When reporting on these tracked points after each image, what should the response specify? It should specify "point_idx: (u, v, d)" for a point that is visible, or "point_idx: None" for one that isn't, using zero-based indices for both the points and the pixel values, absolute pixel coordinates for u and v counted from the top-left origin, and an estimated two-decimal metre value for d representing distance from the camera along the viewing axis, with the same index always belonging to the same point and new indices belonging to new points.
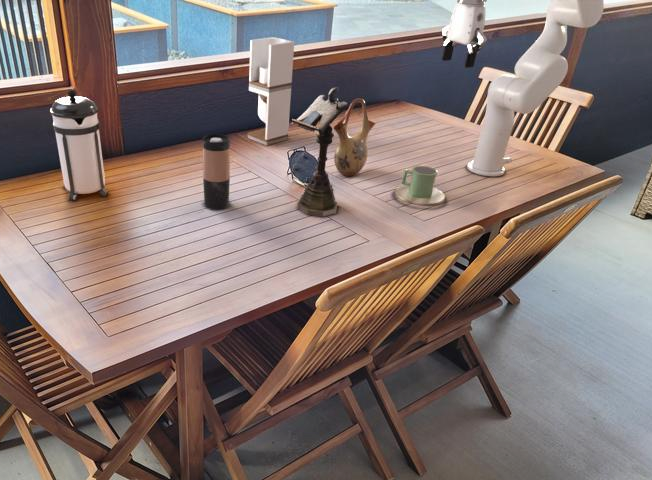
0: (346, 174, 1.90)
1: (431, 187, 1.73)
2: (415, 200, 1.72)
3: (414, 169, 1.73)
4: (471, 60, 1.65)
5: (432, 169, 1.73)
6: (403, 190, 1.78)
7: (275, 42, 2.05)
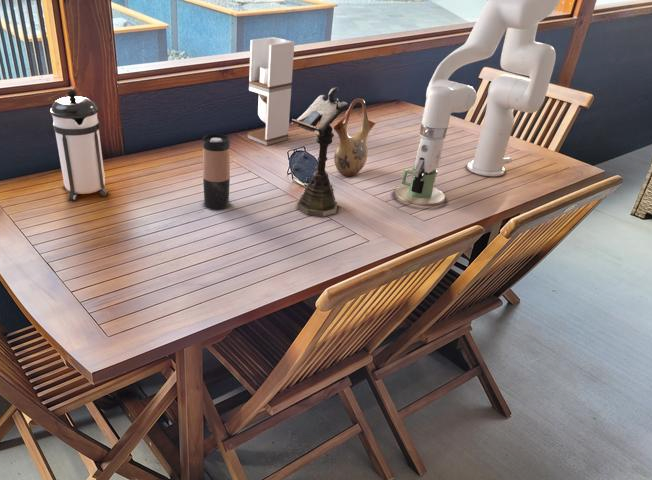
0: (346, 174, 1.90)
1: (431, 187, 1.73)
2: (415, 200, 1.72)
3: (414, 169, 1.73)
4: (415, 186, 1.71)
5: None
6: (403, 190, 1.78)
7: (275, 42, 2.05)
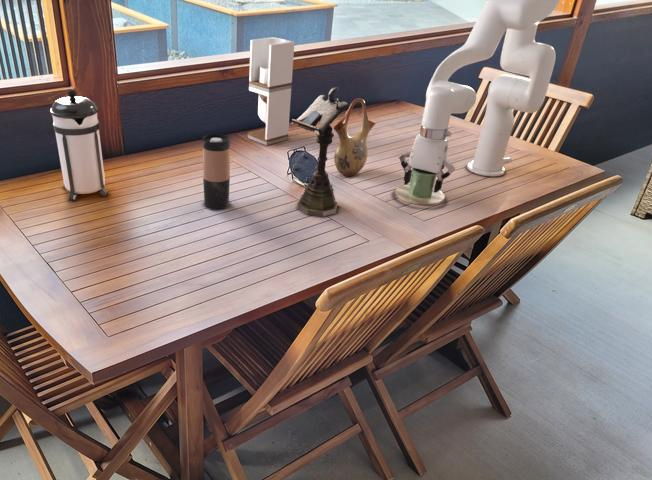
0: (346, 174, 1.90)
1: None
2: (439, 197, 1.74)
3: (426, 174, 1.70)
4: (440, 186, 1.71)
5: None
6: (417, 199, 1.73)
7: (275, 42, 2.05)
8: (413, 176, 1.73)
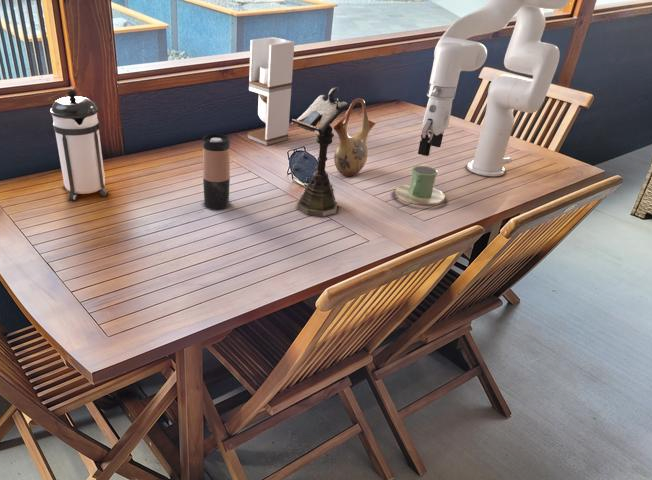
0: (346, 174, 1.90)
1: None
2: (439, 197, 1.74)
3: (426, 174, 1.70)
4: (422, 148, 1.64)
5: (420, 167, 1.75)
6: (417, 199, 1.73)
7: (275, 42, 2.05)
8: (413, 176, 1.73)
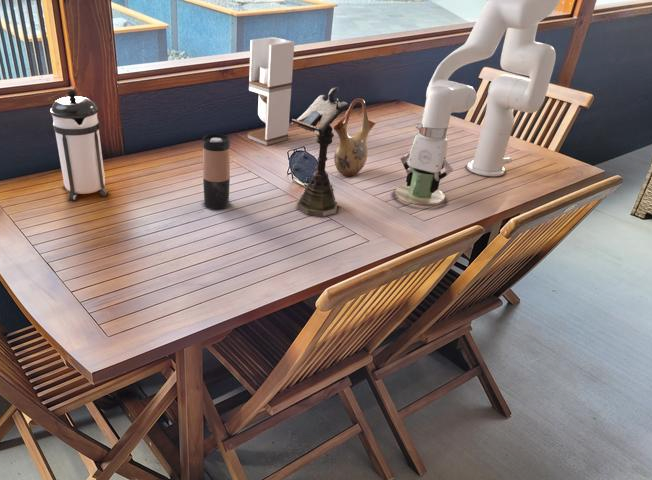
0: (346, 174, 1.90)
1: None
2: (439, 197, 1.74)
3: (426, 174, 1.70)
4: None
5: None
6: (417, 199, 1.73)
7: (275, 42, 2.05)
8: (413, 176, 1.73)
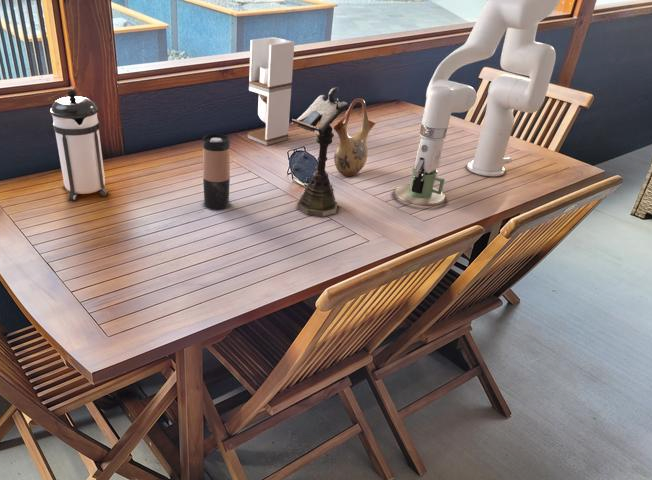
0: (346, 174, 1.90)
1: None
2: None
3: (435, 171, 1.72)
4: (415, 186, 1.71)
5: None
6: (437, 196, 1.75)
7: (275, 42, 2.05)
8: (429, 180, 1.71)
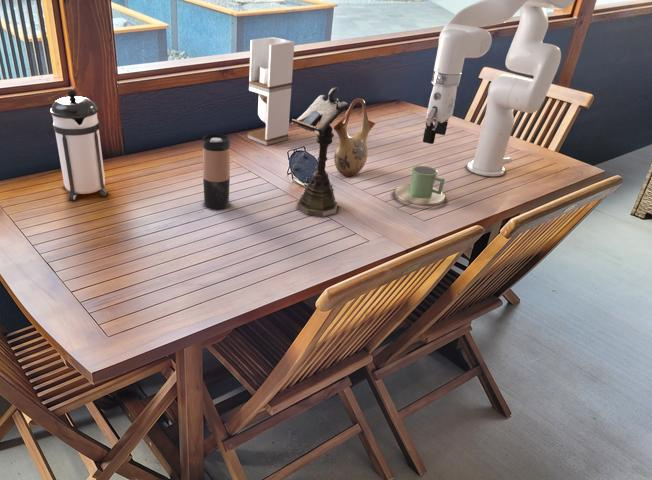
0: (346, 174, 1.90)
1: None
2: None
3: (435, 171, 1.72)
4: (426, 136, 1.64)
5: (417, 171, 1.72)
6: (437, 196, 1.75)
7: (275, 42, 2.05)
8: (429, 180, 1.71)
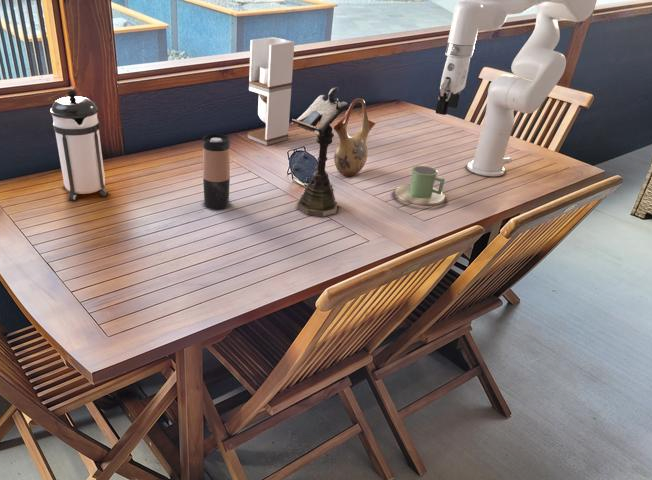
0: (346, 174, 1.90)
1: None
2: None
3: (435, 171, 1.72)
4: (439, 107, 1.68)
5: (417, 171, 1.72)
6: (437, 196, 1.75)
7: (275, 42, 2.05)
8: (429, 180, 1.71)
